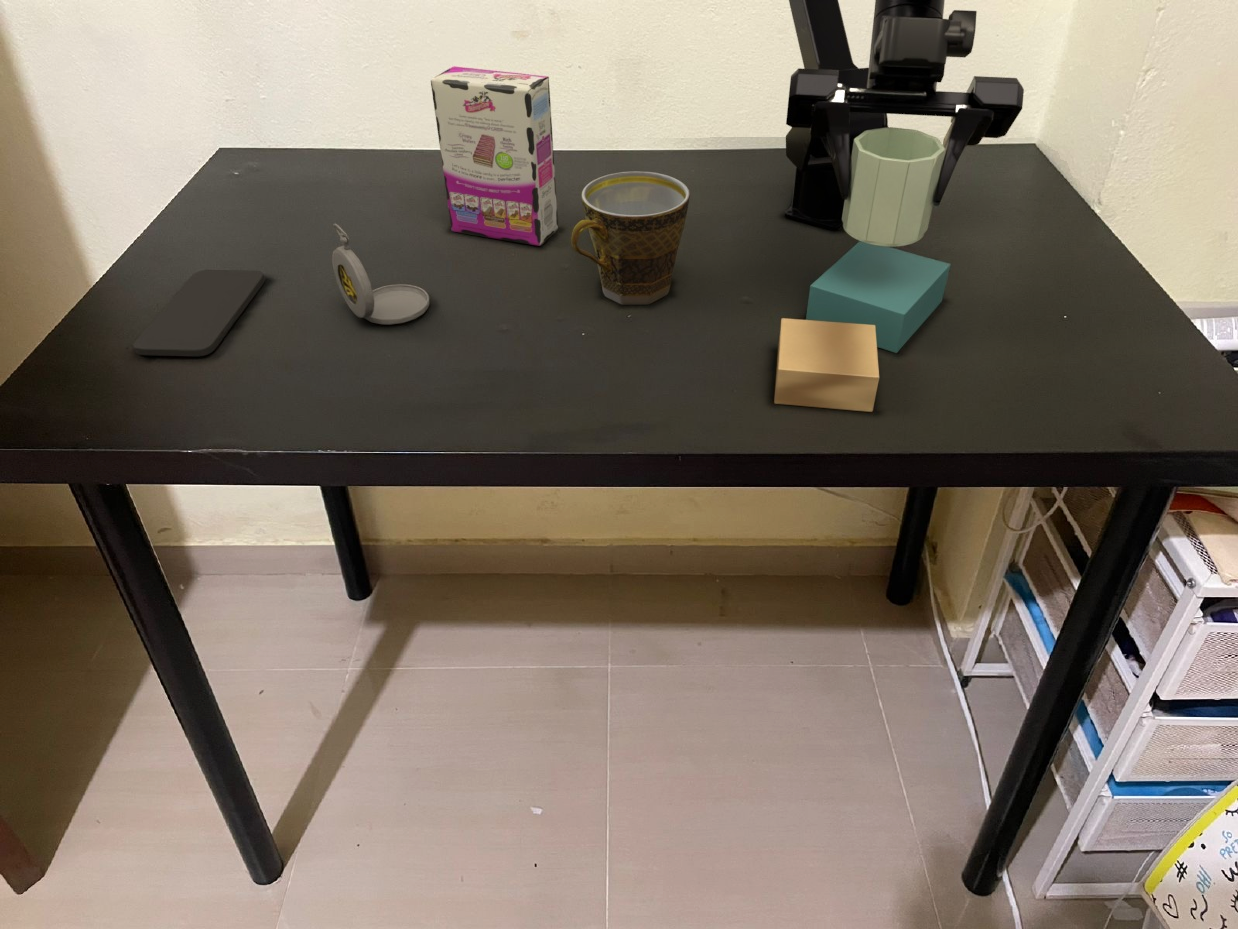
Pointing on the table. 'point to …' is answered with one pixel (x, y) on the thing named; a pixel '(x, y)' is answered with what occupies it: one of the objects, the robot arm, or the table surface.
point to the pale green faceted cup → (892, 186)
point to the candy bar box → (497, 153)
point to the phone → (200, 313)
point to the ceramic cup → (634, 233)
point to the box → (879, 292)
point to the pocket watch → (380, 303)
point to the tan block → (827, 365)
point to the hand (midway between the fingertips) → (890, 200)
